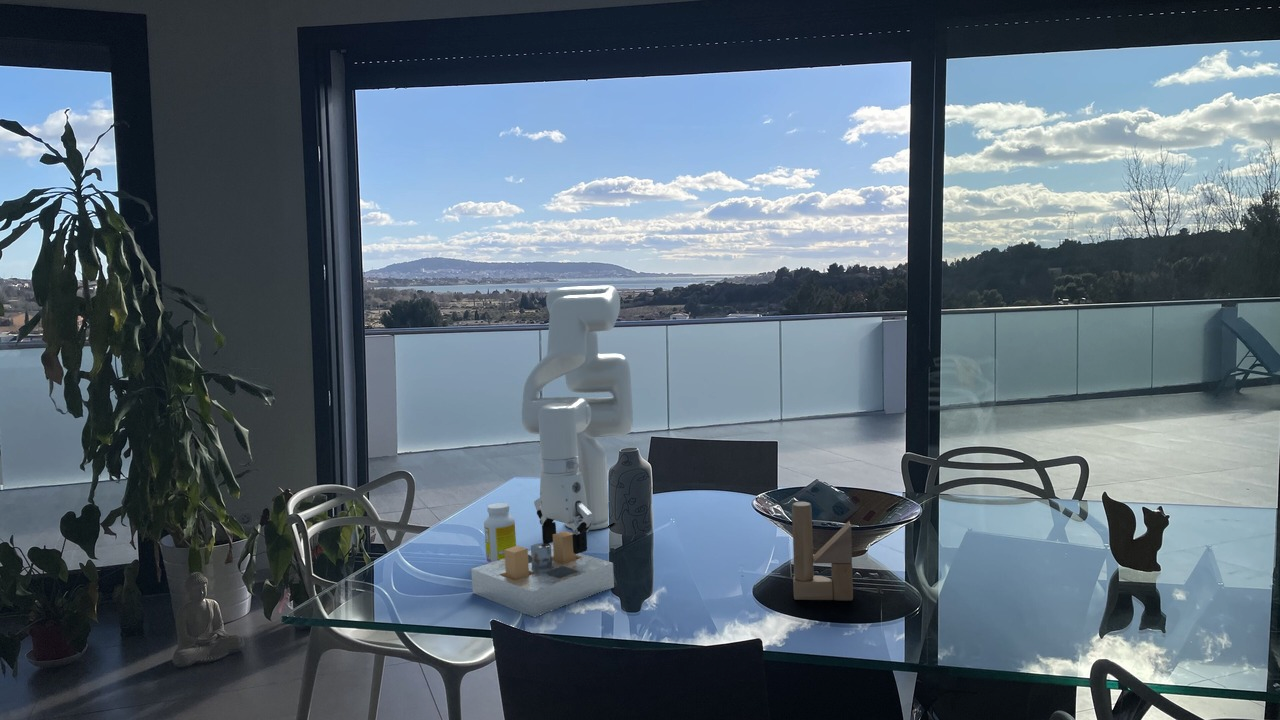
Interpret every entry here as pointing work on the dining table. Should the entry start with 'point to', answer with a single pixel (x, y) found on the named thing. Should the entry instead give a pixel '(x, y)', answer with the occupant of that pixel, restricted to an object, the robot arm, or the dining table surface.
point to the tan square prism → (563, 547)
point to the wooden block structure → (820, 560)
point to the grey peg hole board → (543, 581)
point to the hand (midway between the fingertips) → (564, 547)
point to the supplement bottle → (498, 531)
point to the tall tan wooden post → (516, 562)
